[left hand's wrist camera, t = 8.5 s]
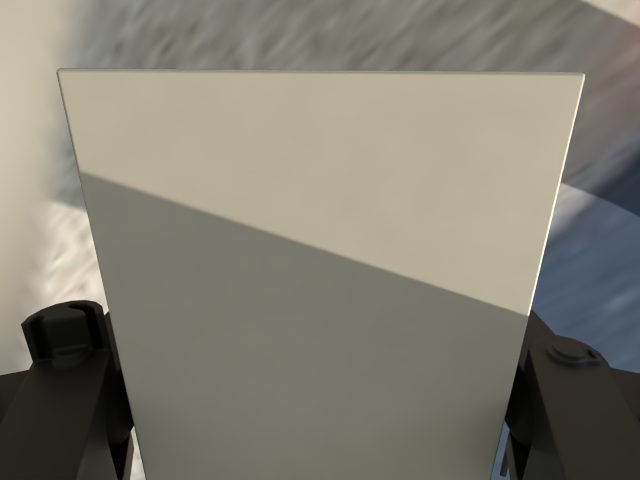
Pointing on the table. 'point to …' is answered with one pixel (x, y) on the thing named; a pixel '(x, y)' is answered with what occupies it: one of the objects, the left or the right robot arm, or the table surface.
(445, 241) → the beam
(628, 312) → the table surface
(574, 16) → the table surface
